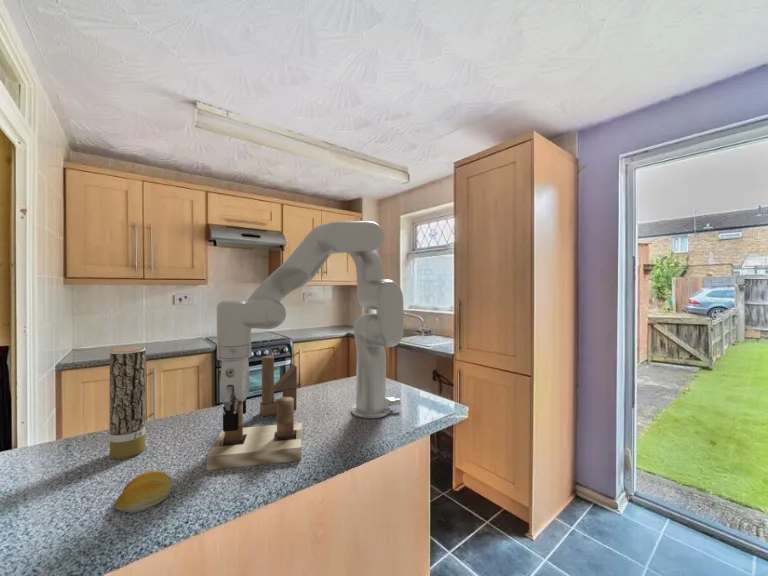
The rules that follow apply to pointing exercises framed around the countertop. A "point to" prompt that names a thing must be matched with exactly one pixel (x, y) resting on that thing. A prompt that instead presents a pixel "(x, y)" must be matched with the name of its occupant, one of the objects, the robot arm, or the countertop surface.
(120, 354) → the paper tube
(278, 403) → the seated peg
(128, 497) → the bread roll
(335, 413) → the countertop surface
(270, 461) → the socket board
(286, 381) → the brown wooden angled piece
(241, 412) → the walnut peg
